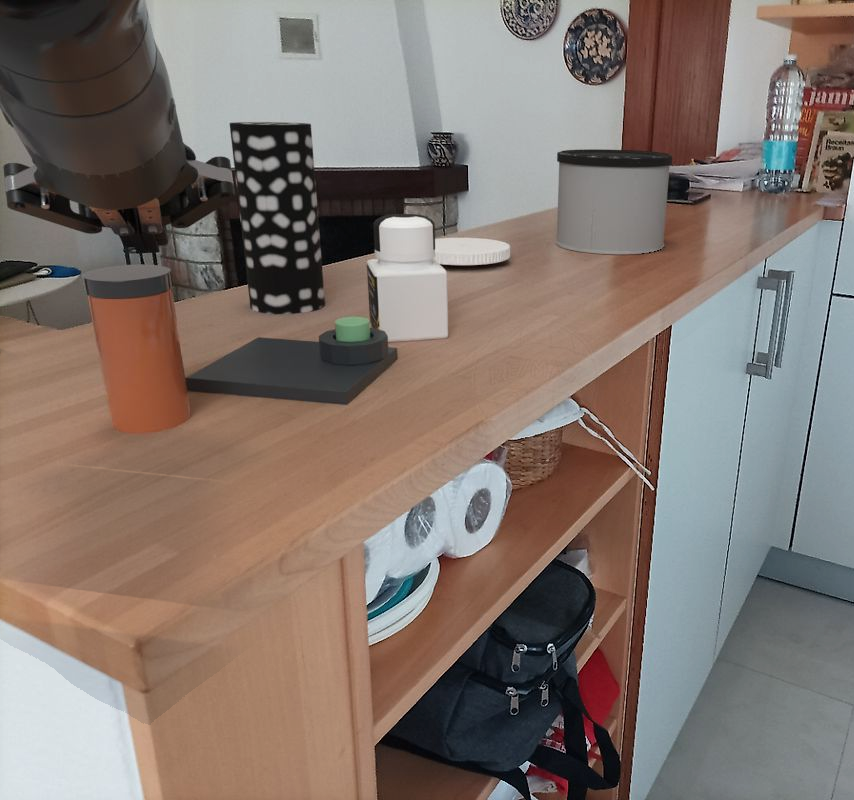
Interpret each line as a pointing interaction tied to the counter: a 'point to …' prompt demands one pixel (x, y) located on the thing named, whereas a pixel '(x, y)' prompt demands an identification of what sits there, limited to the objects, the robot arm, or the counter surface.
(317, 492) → the counter surface
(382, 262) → the medicine bottle
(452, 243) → the plastic lid
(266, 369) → the scale
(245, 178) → the spotted tube
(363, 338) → the button
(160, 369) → the spice jar
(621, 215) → the container
